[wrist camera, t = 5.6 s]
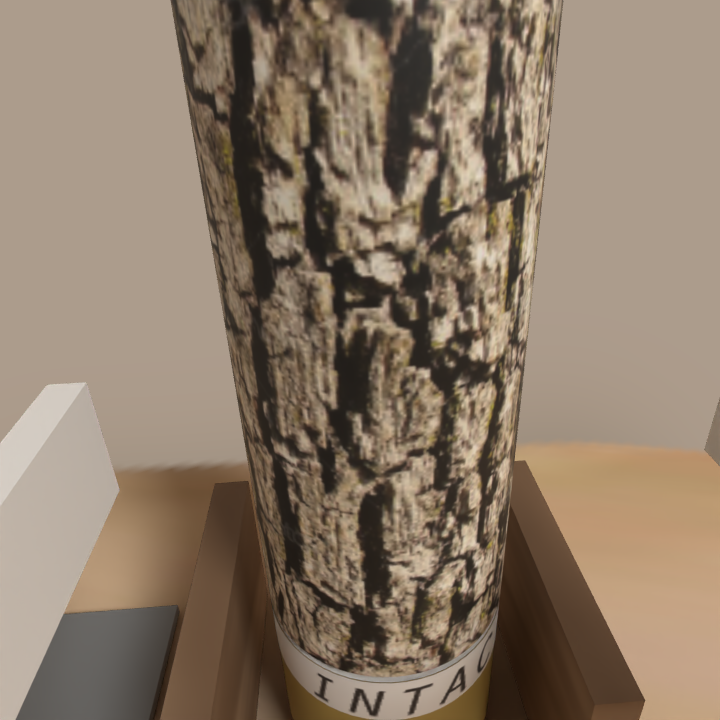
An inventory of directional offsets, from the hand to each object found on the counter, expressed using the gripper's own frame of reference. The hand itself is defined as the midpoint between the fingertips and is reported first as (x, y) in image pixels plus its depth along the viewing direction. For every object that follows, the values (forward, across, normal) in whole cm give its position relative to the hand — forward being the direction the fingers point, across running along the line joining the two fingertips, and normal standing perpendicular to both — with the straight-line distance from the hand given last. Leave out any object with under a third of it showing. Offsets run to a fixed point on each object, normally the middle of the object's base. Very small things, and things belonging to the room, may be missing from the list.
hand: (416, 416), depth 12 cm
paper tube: (+2, -1, -13) cm, 13 cm away
